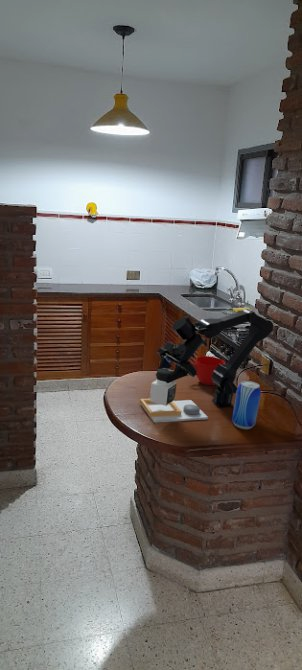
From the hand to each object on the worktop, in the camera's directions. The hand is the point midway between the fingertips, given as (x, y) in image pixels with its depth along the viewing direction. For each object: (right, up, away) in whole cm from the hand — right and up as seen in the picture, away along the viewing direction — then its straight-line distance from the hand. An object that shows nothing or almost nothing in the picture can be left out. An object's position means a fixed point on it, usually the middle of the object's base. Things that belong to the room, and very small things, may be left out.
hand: (161, 379), depth 178 cm
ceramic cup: (+19, -5, +38) cm, 43 cm away
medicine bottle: (0, -8, +3) cm, 9 cm away
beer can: (+30, -17, +2) cm, 34 cm away
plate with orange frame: (+5, -13, +6) cm, 15 cm away
